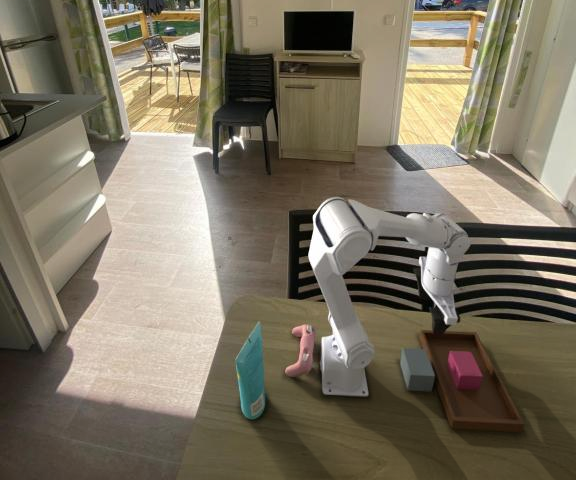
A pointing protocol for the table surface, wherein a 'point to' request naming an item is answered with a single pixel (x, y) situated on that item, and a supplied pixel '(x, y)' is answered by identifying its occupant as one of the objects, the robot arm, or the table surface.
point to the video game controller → (303, 351)
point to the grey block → (417, 369)
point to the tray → (470, 403)
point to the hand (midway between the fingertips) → (430, 314)
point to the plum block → (464, 370)
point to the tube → (251, 375)
